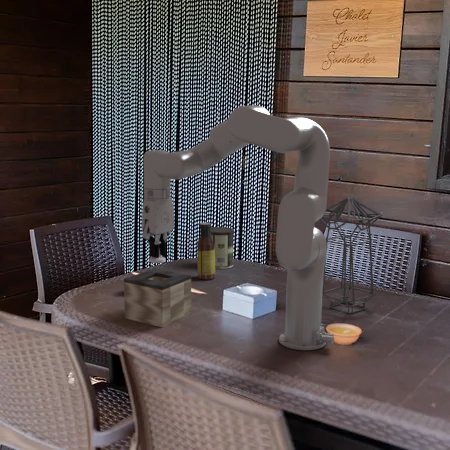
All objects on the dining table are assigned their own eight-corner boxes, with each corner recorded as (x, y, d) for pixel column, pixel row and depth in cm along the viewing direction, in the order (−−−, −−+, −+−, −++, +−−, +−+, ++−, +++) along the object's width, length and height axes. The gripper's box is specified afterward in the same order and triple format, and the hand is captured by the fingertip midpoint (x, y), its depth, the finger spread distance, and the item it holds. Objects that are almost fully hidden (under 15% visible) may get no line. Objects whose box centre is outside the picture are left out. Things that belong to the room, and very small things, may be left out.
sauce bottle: (218, 277, 246) (219, 222, 242) (208, 281, 240) (209, 225, 236) (203, 274, 249) (203, 220, 245) (193, 278, 244) (193, 223, 240)
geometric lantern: (350, 320, 203) (352, 203, 196) (311, 307, 215) (312, 197, 208) (383, 308, 213) (387, 197, 206) (344, 297, 225) (346, 191, 218)
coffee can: (224, 261, 268) (225, 225, 266) (238, 267, 260) (239, 230, 257) (201, 264, 263) (201, 228, 260) (214, 270, 255) (215, 233, 252)
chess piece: (163, 263, 198) (163, 229, 196) (146, 262, 199) (146, 228, 197) (167, 259, 203) (167, 226, 201) (151, 258, 204) (151, 225, 202)
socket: (191, 314, 206) (191, 275, 204) (162, 327, 195) (162, 286, 192) (154, 305, 214) (153, 268, 211) (124, 318, 202) (124, 278, 200)
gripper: (150, 198, 188) (150, 263, 192) (184, 191, 201) (184, 252, 205) (129, 196, 192) (129, 259, 196) (163, 189, 205) (164, 249, 209)
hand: (157, 255), depth 200 cm, fingers closed on chess piece
